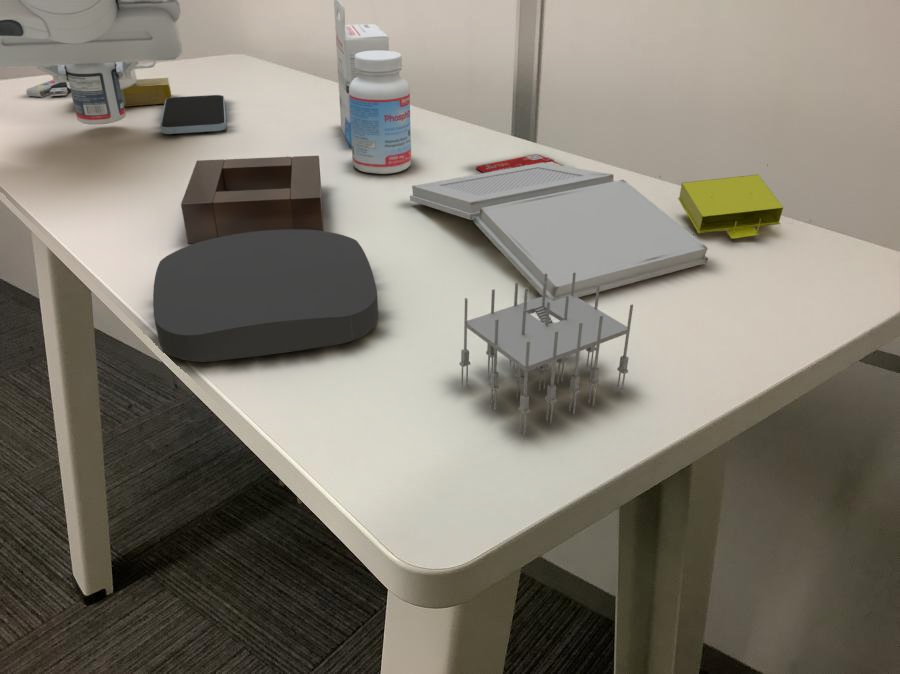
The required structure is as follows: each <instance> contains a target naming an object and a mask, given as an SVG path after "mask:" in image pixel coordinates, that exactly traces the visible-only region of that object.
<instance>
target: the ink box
mask: <svg viewBox="0 0 900 674" xmlns="http://www.w3.org/2000/svg"><path fill="white" fill-rule="evenodd" d="M333 9H334V10H333V11H334V29H335V45H336V46H335V47H336V65H337V79H338V80H337V81H338V94H339V96H338V97H339V98H338V99H339V113H340V115H339V116H340V128H341V131H342V134H343V135H344V138H345V140H346V141H347V144H348V145H349V147H350V148H352V141H351V122H350V102H349V86H350V83H351V82H352V80H353V79H355V78H356V77H358V72H357V71H356V68H355V54H357V53H359V52H364V51H374V50H384V51H390V48H389V47H390V46H389V45H390V42H389V40H390V37H389V36H388V34H386V33H385V32H384V31H383V30H382V28H380V27H379V26H378V25H377V24H376V23H359V24H358V23H357V24H346V9H345V5H343V3H342V2H341V1H340V0H333Z"/></svg>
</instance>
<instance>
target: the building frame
mask: <svg viewBox="0 0 900 674" xmlns="http://www.w3.org/2000/svg"><path fill="white" fill-rule="evenodd" d="M575 277H576V272H574V273H573V279H572V289H571V295H570V296H568V295H566V297H564V298H561V299H558V300H555V301H553V300H551V299H550V298H548V297H546V287H547V273H545V275H544V285H543V296H539V297H536V298H533V299H530V300H528V290H529V288H528V287H524V296H523V297H524V298H523V302H522V303H518V294H519V292H518V291H519V282H518V281H517V282H514V298H513V299H514V300H513V305H512V306H509V307H505V308H503V309H500V310H496V311H495V297H496V296H495V294H496V289H491V301H490V302H491V303H490V304H491V305H490V307H491V308H490V313H487V314H483V315H481V316H477V317H474V318H471V319H468V298H467V297H464V319H463V320H464V321H463V323H464V324H463V331H464V332H463V349H461V352H460V354H461V355H460V362H459V366H460V367H461V379H460V380H461V383H460V384H461V385H460V386H461V387H464V367H466V369H465V371H466V372H465V375H466V376H465V378H466V379H465V385H466V386H467V385H469V384H468V383H469V366H470V365H471V361H470V350H469V349H468V346H467V345H468V330H469V331H470V332H472V333H473V334H474V335H476V336H477V337H478V338H480V339H481V340H483V341H484V342H485V343H487V345H486V346H487V347H486V351H485V354H486V355H487V356H488V357H487V375H490V376H489V377H490V378H489V383H488V386H489V388H491V389H490V390H491V392H490V395H491V396H490V408H494V409H493V410H494V411H497V395H498V393H497V392H498V390H500V385H499V379H500V375H499V374H500V373H499V372H498V371H497V370H498V369H497V365H498V353H500V354H502V355H503V356H504V357H505V358H507V359H508V360H509V367H512V370H515V365H516V373H515V377H516V378H517V385H516V387H517V388H516V398H519V406H518V408H517V409H518V411H519V412H520V418H519V419H520V421H519V433H521V432H522V427H523V436H525V435H526V430H527V429H526V428H527V414H530V409H529V406H530V405H529V404H530V396H529V395H528V394H527V393H528V379H529V378H528V377H529V371H531V370H534V369H538V370H539V380H538V381H539V382H538V391H541V387H542V386H543V387H542V389H545V388H547V389H546V395H545V400H546V401H547V404H546V417H545V420H546V421H549V424H550V425H552V423H553V414H554V403H557V398H556V392H557V386H556V385H555V373H556V363H557V374H556V375H557V376H556V384H559V379H560V369H561V379H560V382H563V381H564V370H565V363H566V362H568V358H570V356H571V355H574V354H575V364H574V373H573V374H572V375H570V384H569V385H570V386H568V390H569V391H570V398H569V406H568V412H571V410H572V403H573V411H572V414H573V415H575V413H576V404H577V397H578V396H577V395H578V394H579V393H580V392H581V391H580V389H579V387H580V377H581V376H579V375H578V371H579V363H580V362H579V361H580V353H581V352H582V351H584V350H585V351H586V352H587V358H586V367H585V372H586V373H587V372H588V371H589V370H590V375H589V378H588V381H587V382H588V383H590V384H589V391H588V393H589V394H588V404H590V403H591V397H592V388H593V386H594V389H593V397H592V403H591V406H592V407H594V406H595V400H596V393H597V392H596V391H597V386H598V385H600V381H599V377H600V368H598V364H599V363H598V362H599V353H600V347H601V346H600V345H601V344H604V343H606V342H608V341H612V340H614V339H618V338H620V337H622V336H624V335H625V341H624V348H623V355H621V356H620V358H619V365H618V367H617V371H618V378H617V379H618V380H617V386H616V392H619V390H620V382H621V375H622V374H623V376H622V383H621V390H620V394H621V395H623V393H624V386H625V379H626V374H628V373H629V370H628V365H629V356H627V354H628V345H629V339H630V332H631V325H632V318H633V310H634V304H630V305H629V312H628V319H627V325H625V324H623V323H622V322H620V321H618V320H617V319H615V318H613V317H612V316H610V315H608V314H606V313H605V312H603V311H602V310H599V308H598V306H599V299H600V297H599V296H600V292H599V289H600V286H599V285H597V290H596V293H595V301H594V305H591V304H589V303H588V302H586V301H584V300H583V299H581V298H580V297H576V296H574V287H575ZM533 313H535V314H536V316H537V317H538V318H537V317H536V316H534V315H532V314H533ZM550 316H551V317H553V318H554V319H557V320H558V321H556V322H553V319H552V318H551V317H550ZM590 353H591V359H590ZM594 353H595V356H594ZM490 358H491V360H490ZM490 361H491V364H490ZM589 362H590V366H589ZM593 362H594V363H593ZM550 363H551V373H550V375H551V376H550V383H549V384H547V387H546V377H547V370H548V369H550V365H549V364H550ZM561 364H562V366H561ZM593 364H594V365H593ZM490 365H491V366H490ZM560 367H562V368H560ZM588 369H589V370H588ZM542 372H544V373H542ZM542 374H543V375H544V376H543V385H542ZM520 382H521V383H520ZM519 389H520V396H519ZM573 394H574V399H573ZM493 399H494V401H493ZM572 401H573V402H572ZM493 403H494V405H493ZM550 404H551V408H550ZM493 406H494V407H493ZM549 410H550V419H549ZM523 415H524V422H523Z"/></svg>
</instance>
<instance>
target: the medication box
mask: <svg viewBox="0 0 900 674" xmlns="http://www.w3.org/2000/svg"><path fill="white" fill-rule="evenodd" d="M70 94H71V95H72V93H71V92H70ZM121 94H122V99H123V104H124V108H125V107H137V106H149V105H150V106H152V105H162V104H164V105H165V100H166V99H167V98H171V97H174V96H173V95H172V88H171V83H170V80H169V77H157V78H156V77H155V78H142V79H141V78H140V79H139V78H137V82H136V83H135V84H134V85H133V86H131V87H128V88H125V89H121ZM71 98H72V97H71ZM71 100H73V98H72V99H71ZM72 103H73V104H74V102H73V101H72Z"/></svg>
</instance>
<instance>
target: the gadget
mask: <svg viewBox="0 0 900 674" xmlns="http://www.w3.org/2000/svg"><path fill="white" fill-rule="evenodd" d="M561 165H562V164H561ZM561 165H555V164H549V163H537V164H532V165H526V166H521V167H515V168H509V169H504V170H498V171H493V172H487V173H484V172H482V173H477V174H472V175H466V176H460V177H454V178H448V179H443V180H437V181H432V182H426V183H420V184H415V185H412V186H411V189H412V194H411V195H409V201H410V202H413V203H416V204H419V205H423V206H426V207H429V208H432V209H434V210H435V209H436V210H437V211H442V212H444V213H448V214H450V215H453V216H457V217H460V218H463V219H466V220H469V221H473V223H474V224H475V226H476V227H478V229H479V230H480V231H481V232H482V233H483V234H484V235H485V236H486V237H487V238H488V239H489V241H490V242H491V243H492V244H493V245H494V246H495V247H496V248H497V249H498V250H499V251H500V253H502V255H504V257H505V258H506V259H507V260H508V261H509V262H510V263H511V264H512V265H513V267H515V269H516V270H517V271H518V272H519V273H520V274H521V275H522V276H523V277H524V278H525V279H526V281H528V283H529V284H530V285H531V286H532V287H533V288H534V289H535V290H536V291H537V292H538V294H540V295H541V297H543V285H544V275H545V273H547V287H546V297H548V298H550V299H551V300H553V301H555V300H558V299H561V298H564V297H566V295H568V296H570V295H571V289H572V279H573V273H574V272H576V277H575V287H574V296H576V297H578V298H581V297H585V296H588V295H592V294H596V290H597V285H599V286H600V289H599V293H601V292H605V291H607V290H612V289H616V288H619V287H622V286H626V285H629V284H633V283H638V282H641V281H645V280H648V279H652V278H656V277H661V276H663V275H667V274H671V273H675V272H678V271H682V270H686V269H690V268H692V267H697V266H701V265H704V264H707V263H708V260H709V257H708V256H707V255H706V253H707V251H708V249H709V248H708V246H706V245H705V244H704V243H703V242H701V241H700V240H699V239H698V238H696V237H695V235H694V236H693V234H691V232H689V231H687V229H685V228H684V227H683V226H682V225H681V224H679V223H678V222H676V221H675V220H674V219H673V218H672V217H671V216H670V215H668V214H667V213H665V212H664V211H663V210H662V209H660V208H659V207H658V206H657V205H656V204H654V203H653V202H652V201H651V200H650V199H648V198H647V197H646V196H645V195H643V194H642V193H641V192H639V190H637V189H636V188H635V187H633V185H631V184H630V183H629V182H627V181H626V180H624V179H619V180H614V174H612V173H607V172H600V171H595V170H589V169H583V168H577V167H572V166H565V165H563V166H561Z"/></svg>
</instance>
